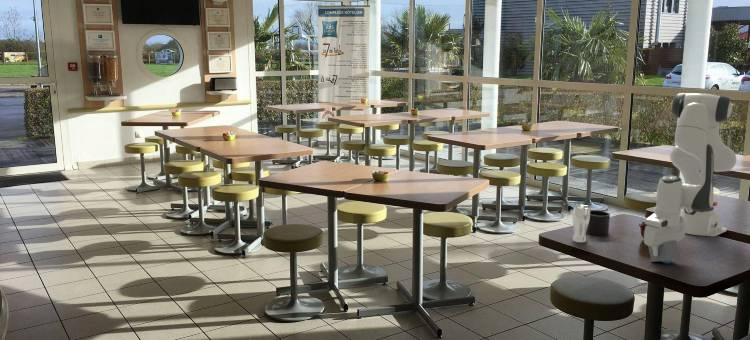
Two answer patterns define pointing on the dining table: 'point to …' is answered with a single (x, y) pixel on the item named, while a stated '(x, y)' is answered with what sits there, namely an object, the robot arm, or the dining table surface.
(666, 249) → the grey block
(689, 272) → the dining table surface
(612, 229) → the dining table surface
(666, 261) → the ball
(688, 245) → the dining table surface
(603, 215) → the mug
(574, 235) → the beer glass
